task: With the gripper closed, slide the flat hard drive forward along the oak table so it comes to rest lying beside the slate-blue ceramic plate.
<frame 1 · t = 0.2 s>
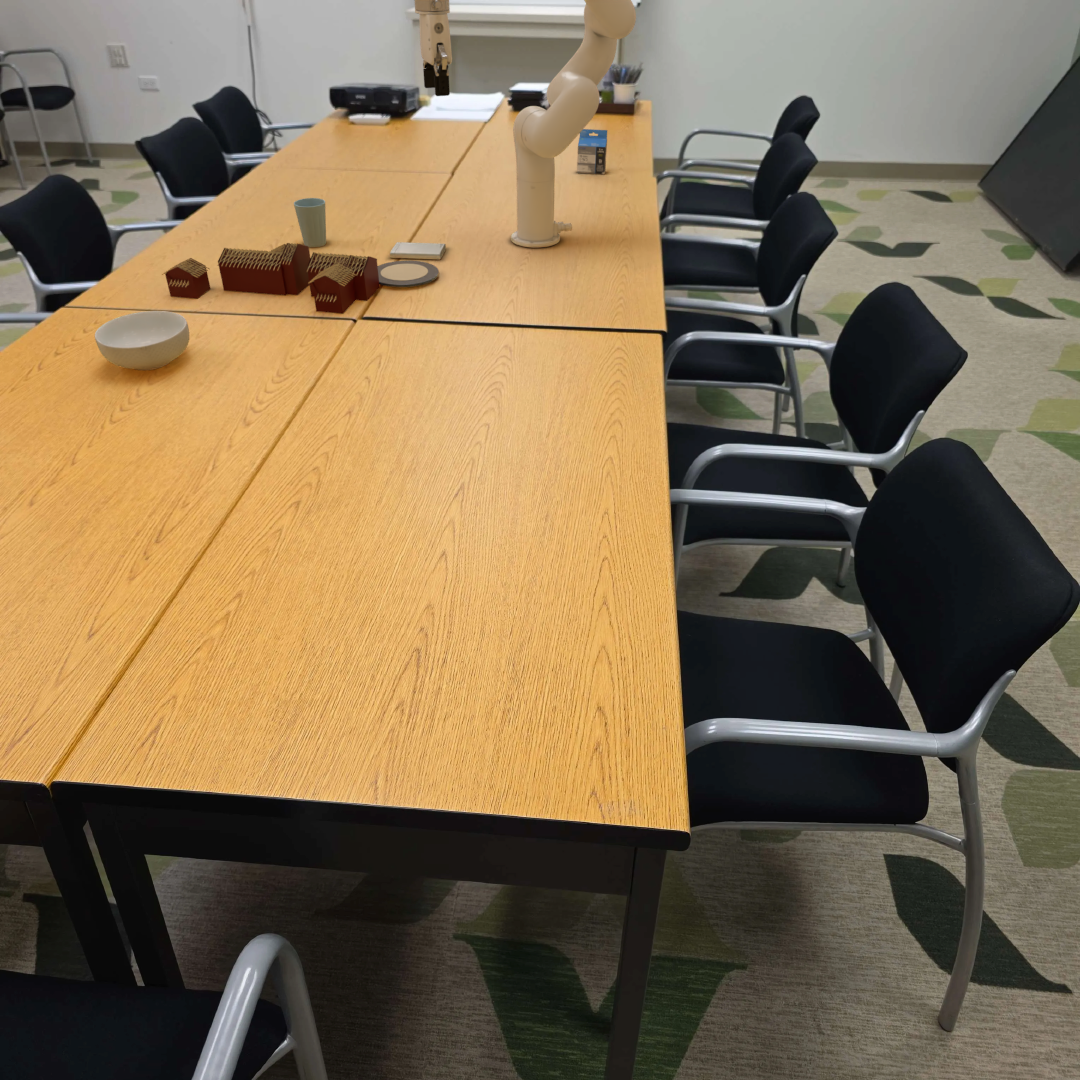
hand: (436, 91, 208), 36 cm above the table, tool pointing down, fingers open, 9 cm apart
cup: (315, 244, 234), on the table
cereal bowl: (150, 362, 178), on the table
plate: (404, 277, 214), on the table
toy houses: (274, 292, 207), on the table
ink cartridge box: (591, 173, 290), on the table
hard drive: (418, 254, 228), on the table
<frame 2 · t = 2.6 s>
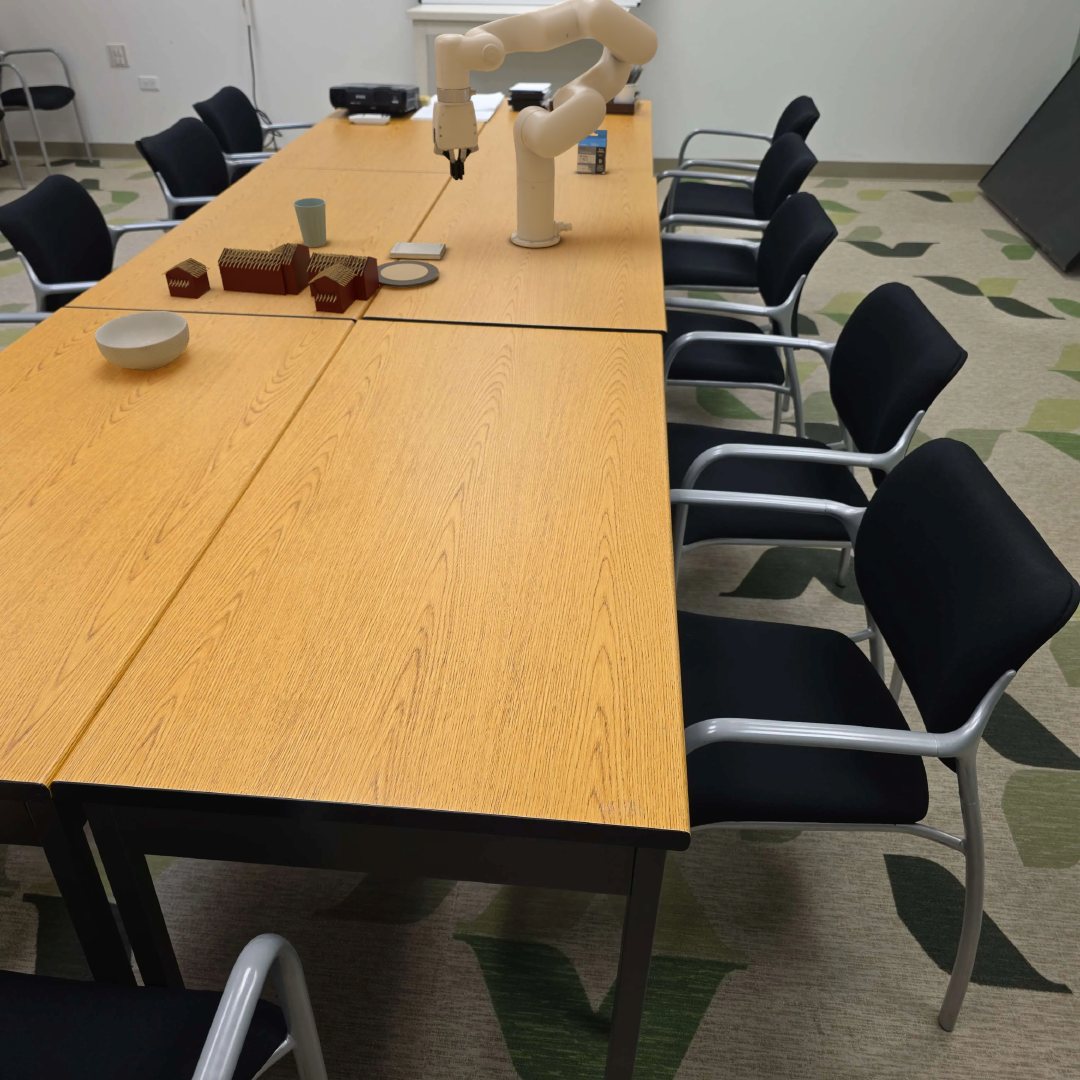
hand: (457, 178, 221), 17 cm above the table, tool pointing down, fingers closed
nothing on the table moved.
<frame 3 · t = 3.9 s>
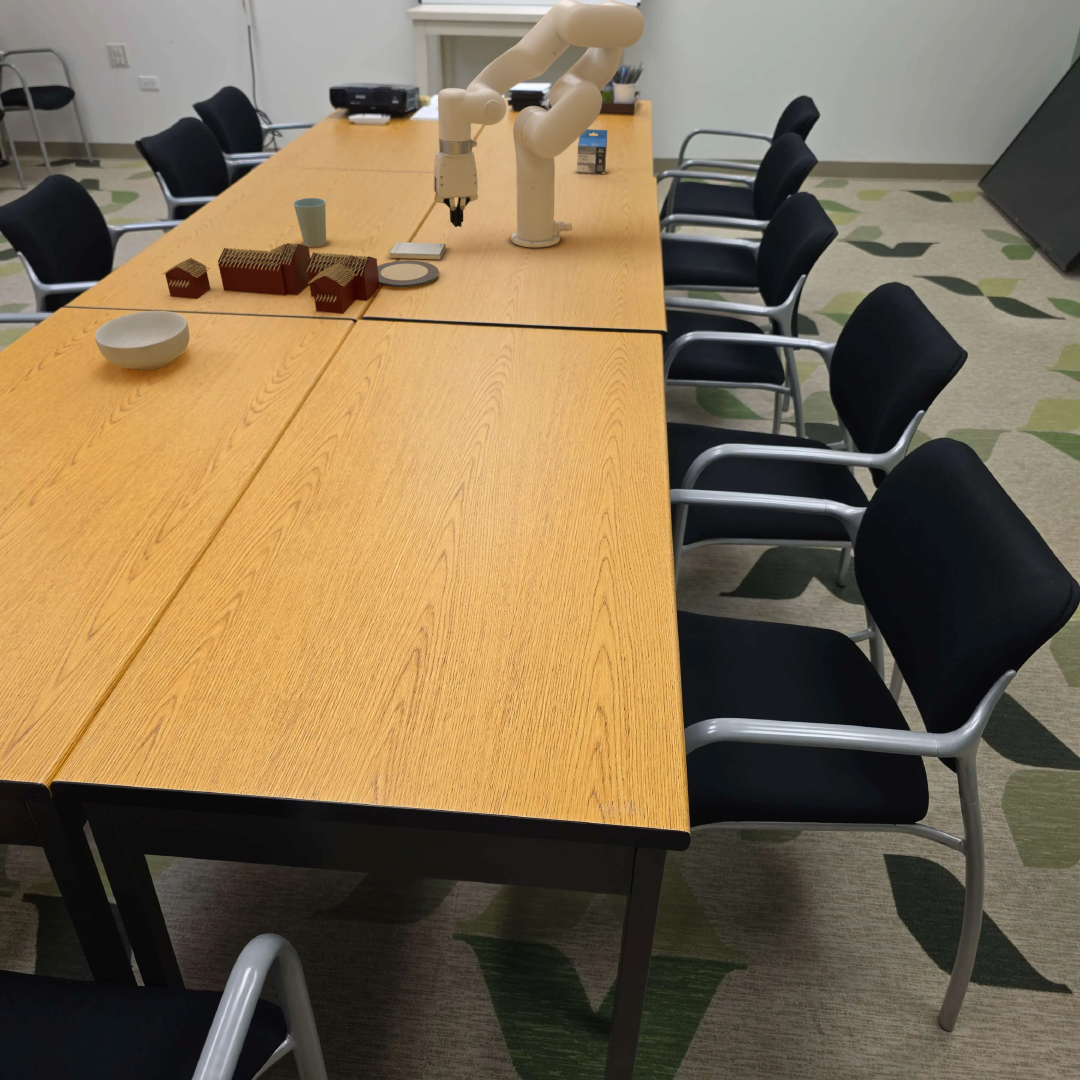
hand: (456, 225, 227), 6 cm above the table, tool pointing down, fingers closed
nothing on the table moved.
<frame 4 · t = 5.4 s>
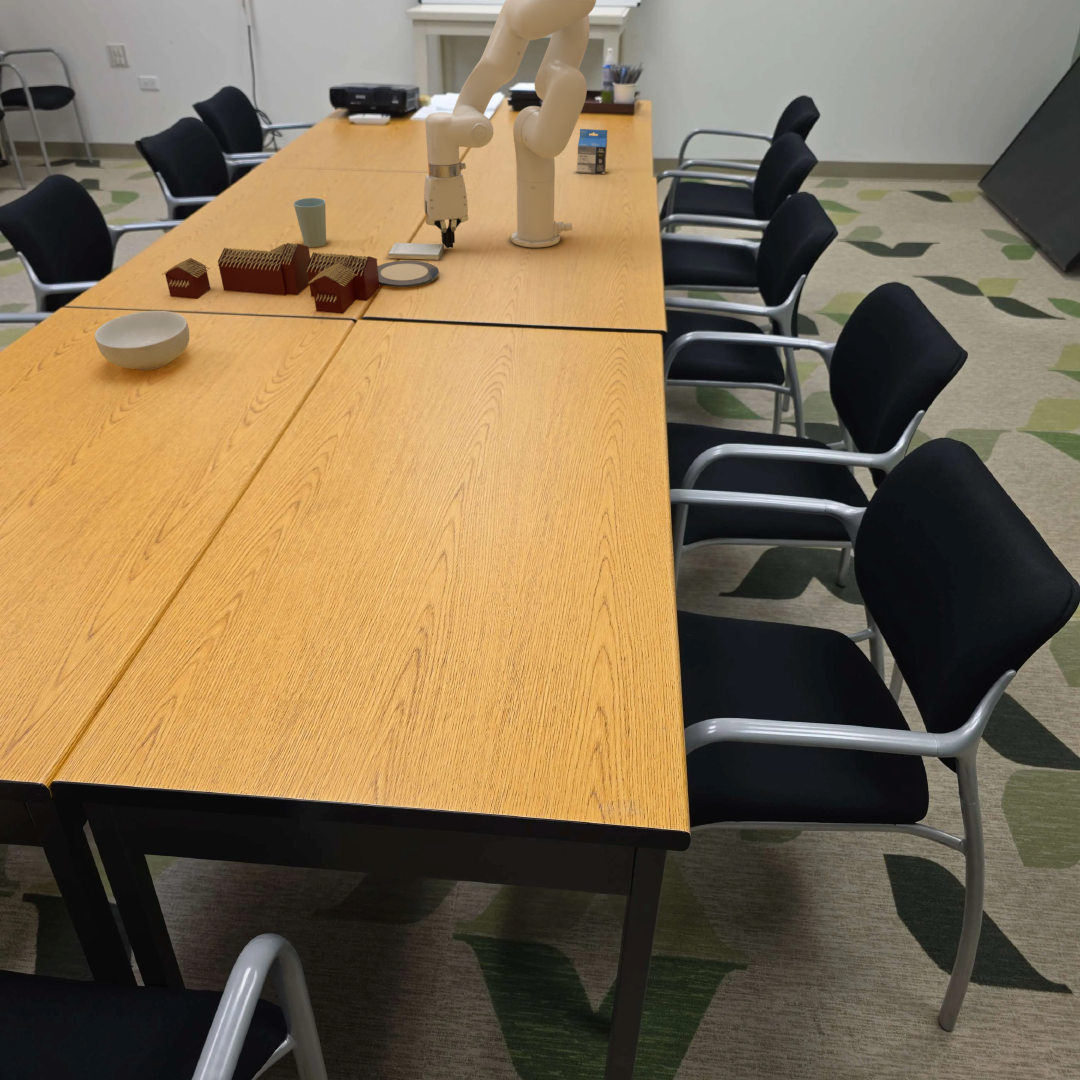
hand: (448, 246, 229), 1 cm above the table, tool pointing down, fingers closed
hard drive: (417, 255, 228), on the table, touching gripper
everything else where it was.
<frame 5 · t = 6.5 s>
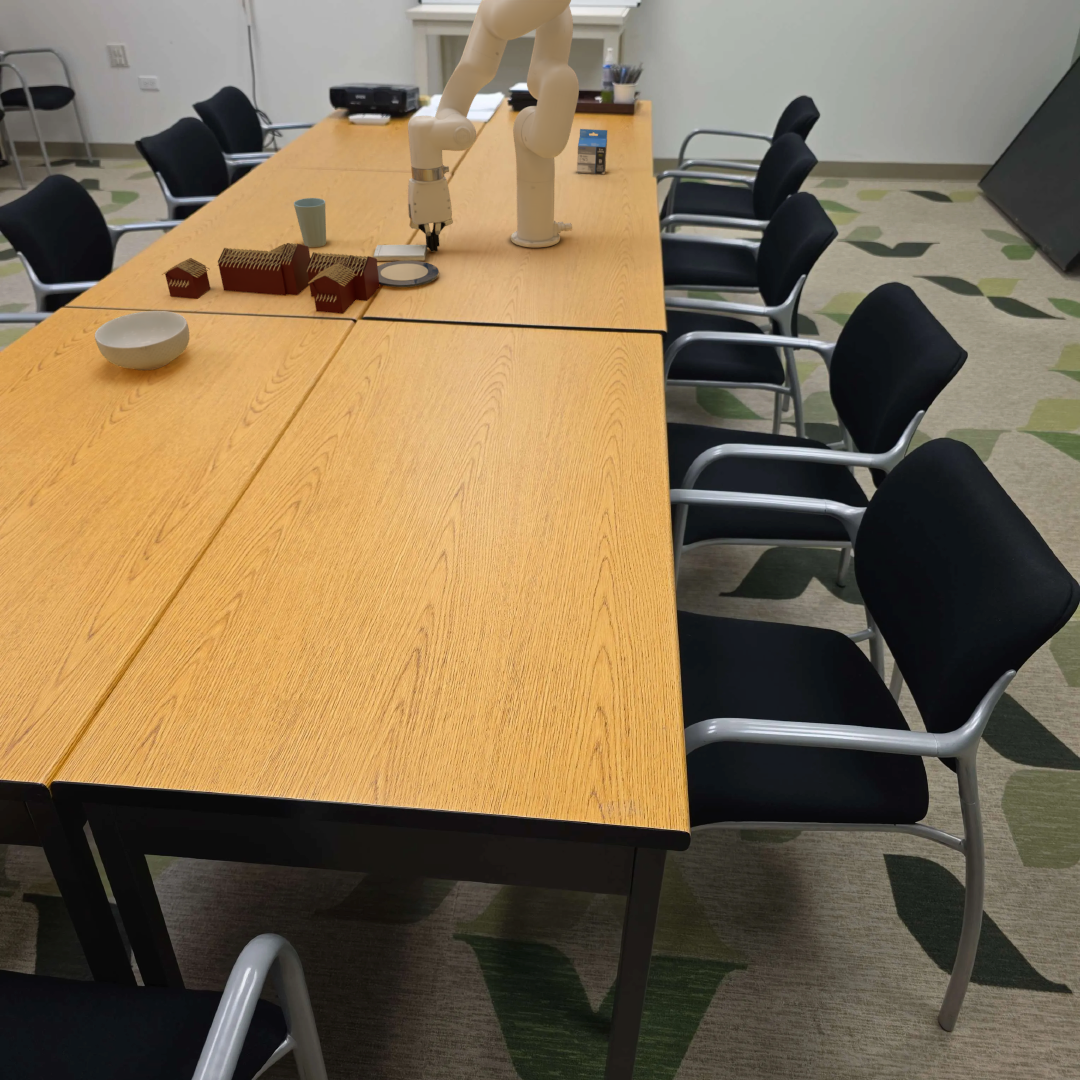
hand: (433, 249, 229), 1 cm above the table, tool pointing down, fingers closed
hard drive: (401, 256, 227), on the table, touching gripper
everything else where it was.
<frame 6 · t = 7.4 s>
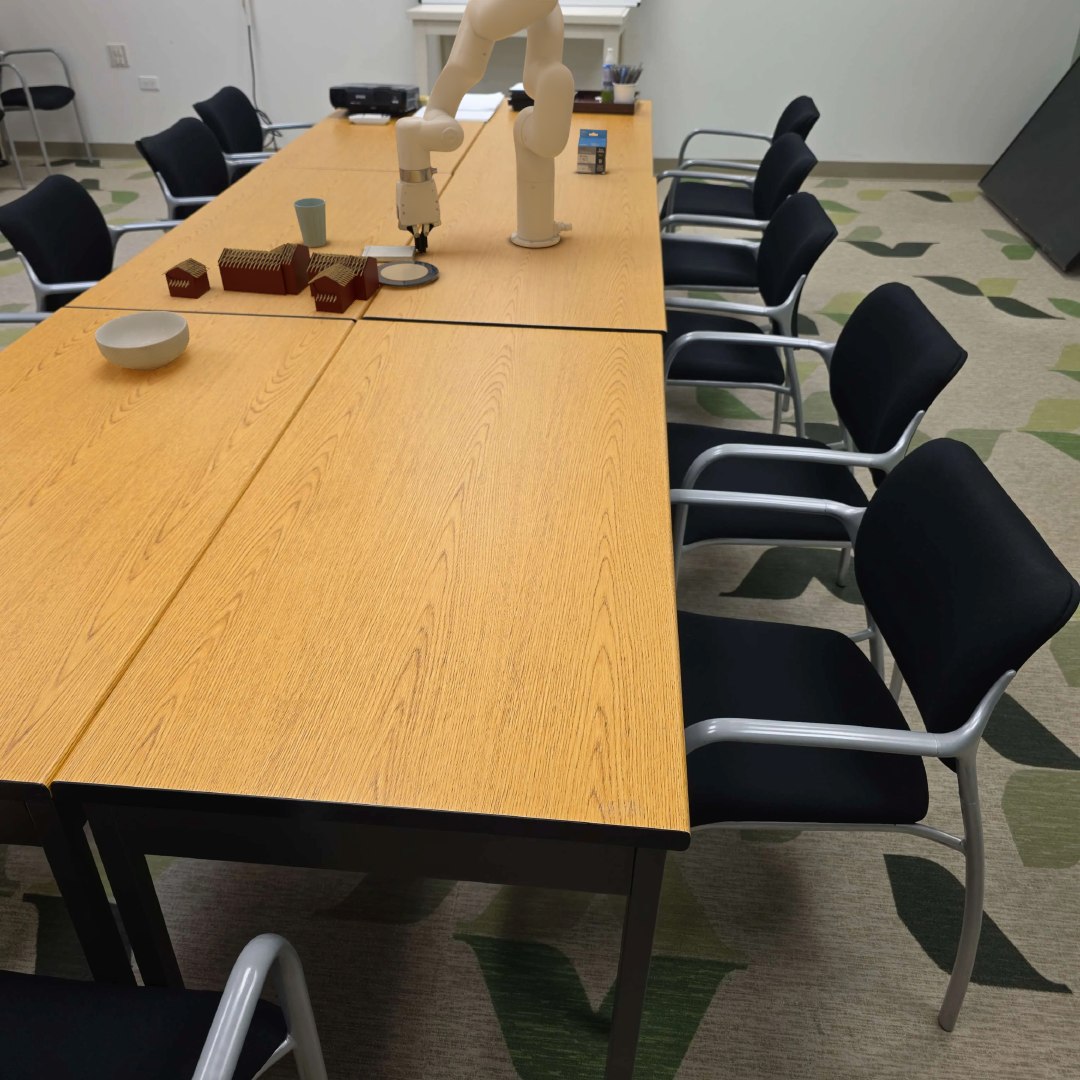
hand: (421, 251, 228), 1 cm above the table, tool pointing down, fingers closed
hard drive: (389, 257, 226), on the table, touching gripper
everything else where it was.
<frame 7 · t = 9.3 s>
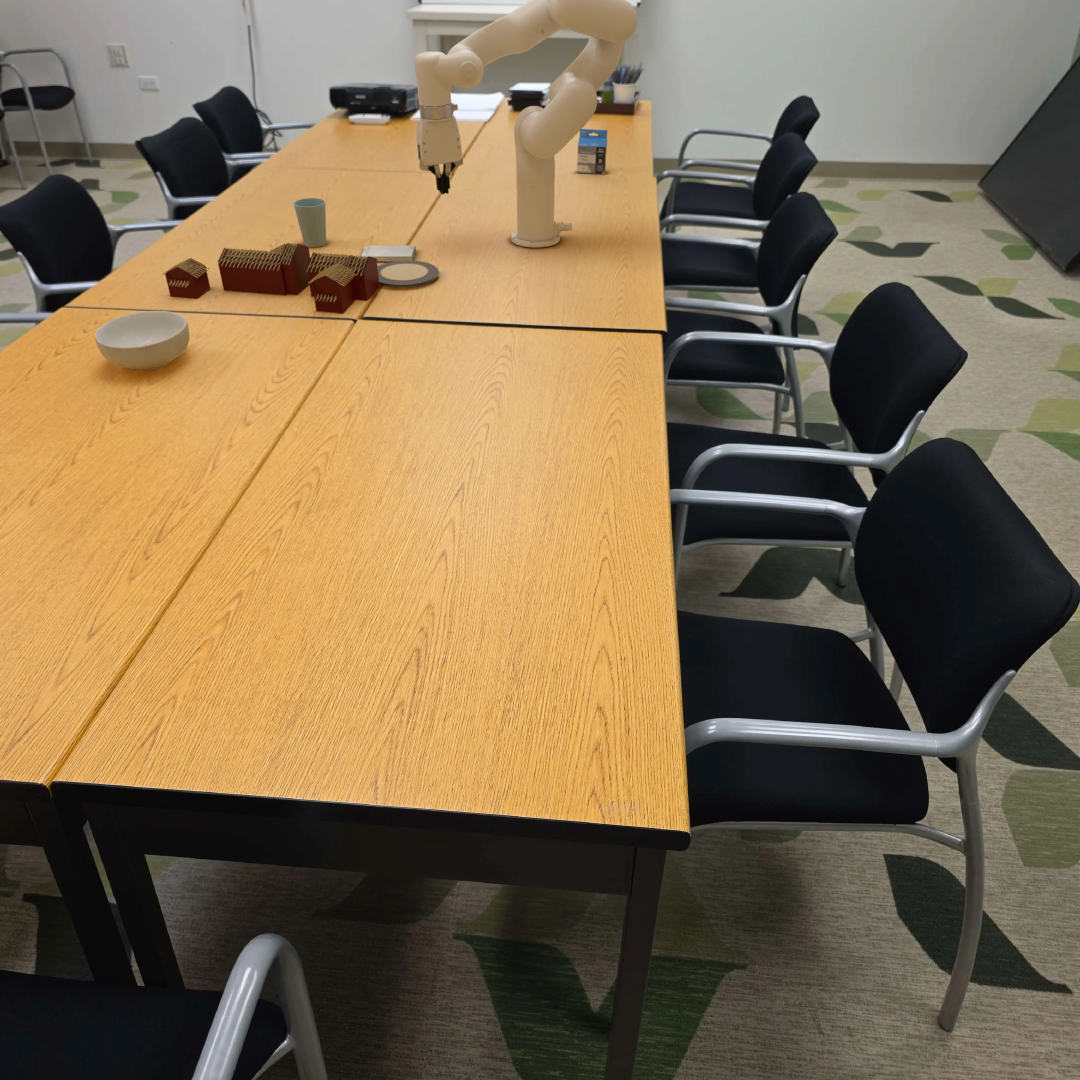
hand: (443, 192, 225), 13 cm above the table, tool pointing down, fingers closed
hard drive: (389, 257, 226), on the table
everything else where it was.
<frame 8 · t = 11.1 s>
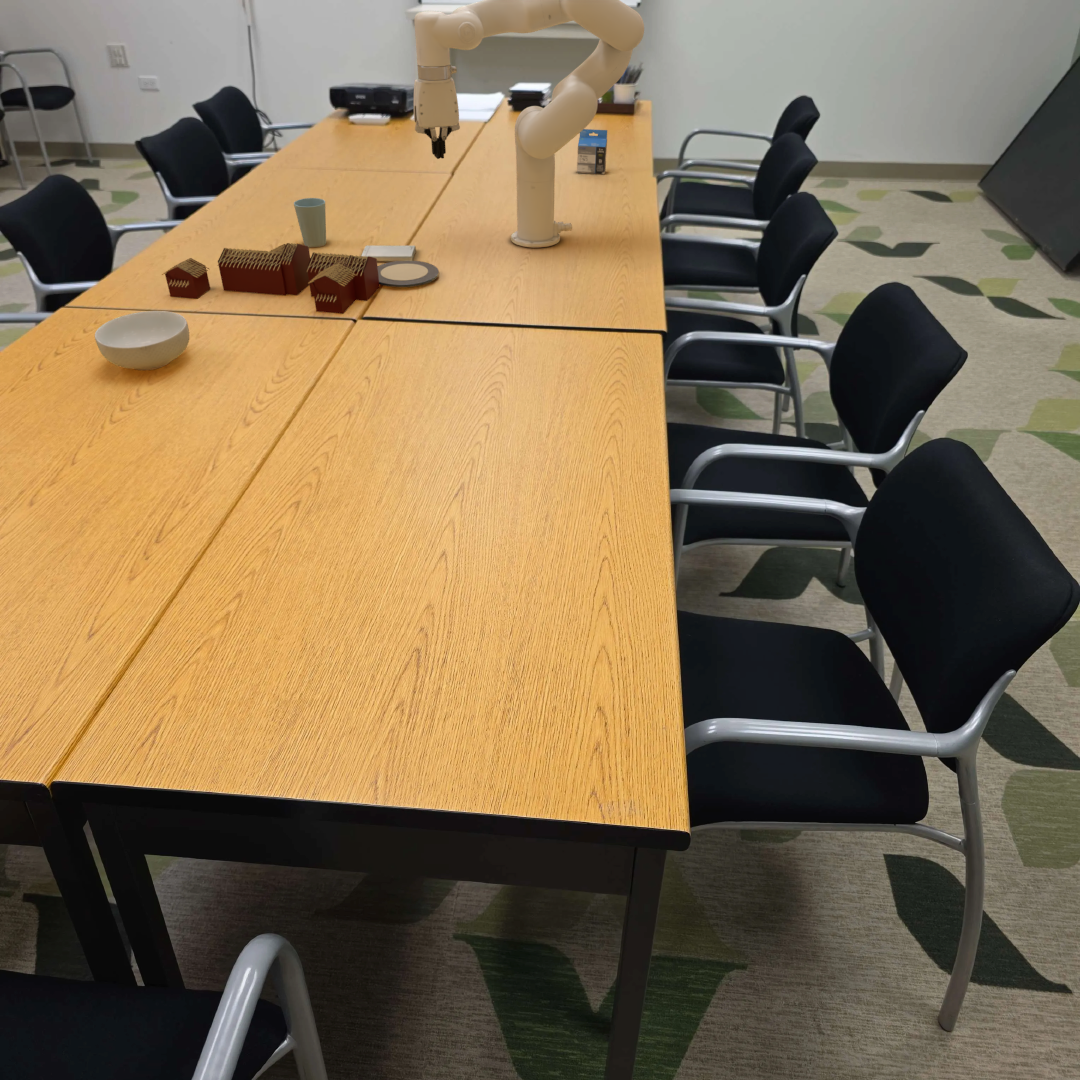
hand: (439, 157, 221), 21 cm above the table, tool pointing down, fingers closed
nothing on the table moved.
at the end: hard drive inside the target area on the table beside the plate (1.0 cm from its centre), on the table; hard drive moved 7.3 cm from its start; hard drive tilted 0° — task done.
